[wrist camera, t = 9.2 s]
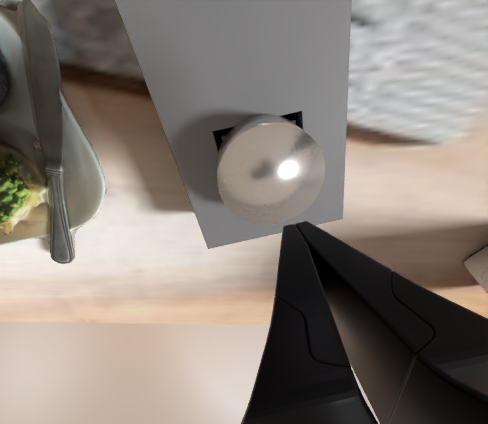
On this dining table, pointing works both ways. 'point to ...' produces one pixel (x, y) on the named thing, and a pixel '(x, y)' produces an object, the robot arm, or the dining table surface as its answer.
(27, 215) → the salad plate
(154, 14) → the console
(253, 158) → the plunger
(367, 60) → the dining table surface
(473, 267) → the juice carton
